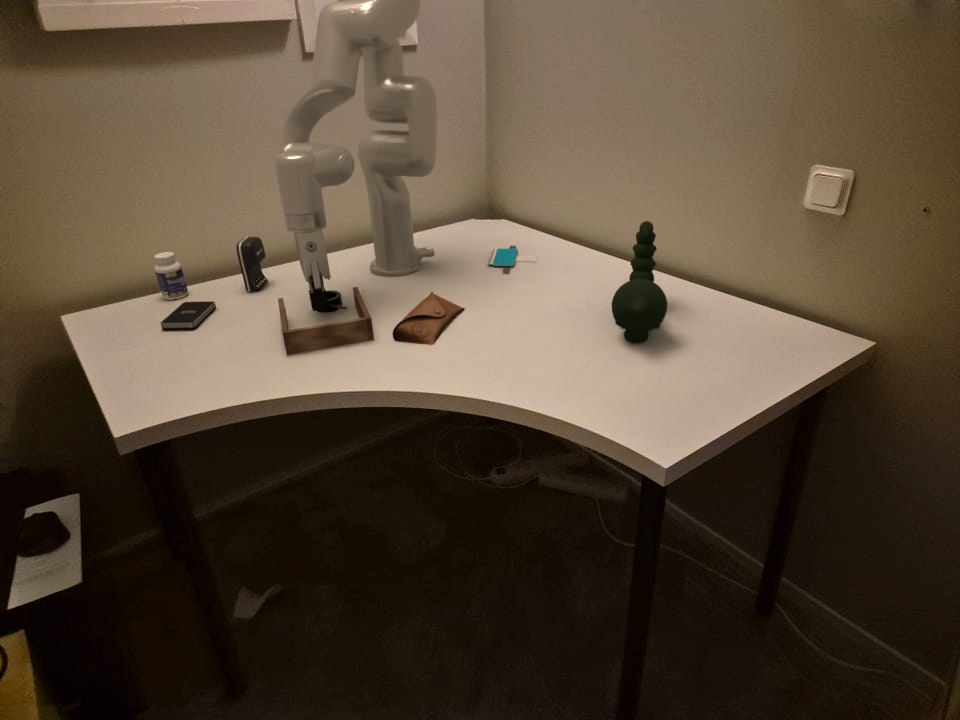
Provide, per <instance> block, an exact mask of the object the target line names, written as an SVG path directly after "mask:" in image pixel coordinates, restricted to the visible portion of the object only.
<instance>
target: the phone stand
mask: <svg viewBox="0 0 960 720" xmlns="http://www.w3.org/2000/svg"><path fill="white" fill-rule="evenodd" d="M516 246H517V245H509V248H497V249H492V251H491V253H490V255H491V256H490V258H489V260H488V267H491V266H490V265H492V267H494V268H499V269H503V270H502V274H509V273H510V271H511V270H512V269H511V268H512V267H513V266H515V264H516V263H537V261H538V256H532V255H531V256H529V255H527V256H525V255H524V256H523V255H522V256H521V255H517V254H518V251H519V249H518V248H517V247H516Z"/></svg>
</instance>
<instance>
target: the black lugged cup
mask: <svg viewBox="0 0 960 720" xmlns="http://www.w3.org/2000/svg"><path fill="white" fill-rule="evenodd" d="M326 295H327V302H328V309H325V310H318V311H315V312H316V313H320V314H331V313H335V312H337V311H340V310H346V309H348V307H346V306H344V305H343V299H342V298H343V297H342V293H341V292H340V291H338V290H330V289H329V290H326ZM308 300H310V297H309V298H308Z"/></svg>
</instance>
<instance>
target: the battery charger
mask: <svg viewBox="0 0 960 720" xmlns="http://www.w3.org/2000/svg"><path fill="white" fill-rule="evenodd" d="M236 254H237V258H238V263H239V268H240V272H241V275H242V278H243V282H244V284H243V285H244V288H245V291H246V292H248V293H251V292H259V291H261V290H262V289H264V287H265V286H267V284H268V283H269V280H268V279H267V277H266V276H265V275H264V272H263V270H262V266H261V263H262V261H263V260H264V259H266V251H265V247H264V243H263V240H262V239H261V238H260V237H258V236H249V235H248V236H245V237H243V238H242V239H240V240H239V241H237V243H236Z"/></svg>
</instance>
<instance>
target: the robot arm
mask: <svg viewBox="0 0 960 720" xmlns="http://www.w3.org/2000/svg"><path fill="white" fill-rule="evenodd" d="M420 9H421V0H337V1H333V2H330V3H328V4H325V5H324V6H323V7H322V8H321V10H320V12H319V14H318V18H317V27H316V33H315V43H314V49H313V57H312V58H313V59H312V64H311V65H312V66H311V73H310V81H309V83H308V86H307V87H306V88H305V90H304V91H303V92H302V93H300V95H299V96H298V98H297V99H296V100H295V102H294V104H293V105H292V107H291V109H290V110H288V113H287V115H286V117H285V119H284V122H283V125H282V131H281V136H280V137H281V138H280V147H279V148H280V149H279V153H278V154H277V155H276V156H275V157H274V167H275V172H276V178H277V184H278V190H279V195H280V200H281V206H282V211H283V212H282V213H283V217H284V223H285V229H286V231H287V232H290V233H293V236H294V242H295V245H296V252H297V256H298V259H299V265H300V267H301V271H302V274H303V276H304V279H305V282H306V283H308V287H309V290H308V293H309V298H310V299H309V301H310V307H311V310H312V311H313V312H316V311H318V310H325V309H328V302H327V295H326V291H327V290H326V287H325V283H324V279H325V280H328V281H330V279H331V278H332V275H331V271H330V266H329V265H330V264H329V260H328V259H329V258H328V255H327V254H328V253H327V246H326V241H325V236H324V232H323V229H325V228H326V227H327V225H328V223H327V218H326V210H325V205H324V204H325V203H324V197H323V196H324V195H323V190H322V189H323V188H326V187H327V188H328V187H334V186H339V185H343V184H345V183H346V182H348V181H349V180H350V179H351V177H352V175H353V173H354V169H355V160H354V157H353V155H352V153H351V152H350V151H349V150H348V149H347V148H346V147H344V146H341V145H339V144H332V143H319V142H317V143H316V142H310V139H311V135H312V132H313V130H314V128H315V126H316V125H317V123H318V122H320V120H321V119H322V118H323V117H324V116H326V115H327V114H329V113H330V112H332V111H334V110H336V109H338V108H339V107H341V106H342V105H344V104H346V103H348V102H349V101H351V100H352V99H353V98H354V97H355V95H356V89H357V81H358V73H359V65H360V58H361V53H362V61H363V63H362V64H363V99H364V100H363V101H364V102H363V103H364V104H363V105H364V109H365V113H366V115H367V117H368V119H370V120H371V121H373V122H376V123H380V124H393V125H395V124H396V125H397V124H398V125H407V126H408V130H399V129H398V130H397V129H395V130H394V129H376V130H375V129H374V130H371V131H368V132H366V133H365V134H363V135H362V136H361V137H360V139H359V141H358V144H357V145H358V146H357V156H358V160H359V164H360V168H361V171H362V173H363V178H364V181H365V185H366V192H367V198H368V199H367V200H368V207H369V215H370V216H369V217H370V223H371V224H370V226H371V233H372V242H373V248H374V256H375V257H374V258H375V259H373V260H372V261H371V262H370V263H369V270H370V271H371V272H372V273H373V274H376V275H380V276H386V277H387V276H389V277H390V276H391V277H394V276H395V277H398V276H405V275H408V274H411V273H415V272H416V271H418V270H420V269H421V268H422V267H423V260H422V259H423V258H430V257H432V258H433V257H435V249H434V248H432V247H431V248H428V247H427V246H425V247H419V248H418V247H416V246H415V242H414V240H415V239H414V229H413V220H412V219H413V218H412V217H413V216H412V207H411V205H412V204H411V196H410V192H409V188H408V185H407V184H406V182H405V181H404V178H403V177H409V178H410V177H412V178H423V177H427V176H429V175H430V174H431V173H432V171H433V170H434V168H435V164H436V159H437V137H438V136H437V134H438V133H437V132H438V131H437V129H438V127H437V126H438V124H437V123H438V122H437V121H438V120H437V119H438V105H437V104H438V102H437V95H436V92H435V88H434V87H433V85H432V83H431V82H430V80H428V79H427V78H425V77H422V76H419V75H405V72H404V71H405V70H404V52H403V48H402V45H401V43H400V41H399V39H400V38H401V37H402V36H403V35H404V34H405V33H406V32H407V31H408V30H410V28H411V27H412V26H413V25H414V24H415V23H416V21H417V18H418V17H419V14H420Z"/></svg>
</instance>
